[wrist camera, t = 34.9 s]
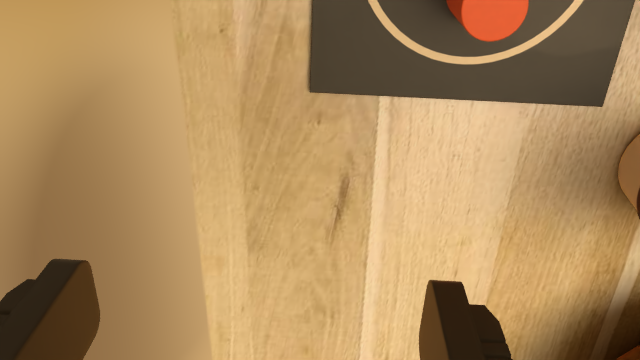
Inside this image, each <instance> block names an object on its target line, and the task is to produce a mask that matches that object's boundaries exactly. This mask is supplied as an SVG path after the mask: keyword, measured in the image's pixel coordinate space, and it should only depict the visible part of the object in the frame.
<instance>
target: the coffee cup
mask: <svg viewBox="0 0 640 360" xmlns="http://www.w3.org/2000/svg"><path fill="white" fill-rule="evenodd" d="M618 178H619V183H620V186H621V189H622V191H623V192H624V194H625V195H626V197H627V198H628V199H629V201H630V202H631V203H632V205H633V206H634V208H635V209H636V210H637V212H638V216H639V219H640V134H639V135H638V136H637V137H636V138H635V139H634V140H633V141H632V142H631V143H630V144H629V145H628V147H627V148H626V150H625V152H624V153H623V155H622V157H621V160H620V163H619V168H618Z"/></svg>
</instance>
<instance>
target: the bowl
mask: <svg viewBox="0 0 640 360" xmlns="http://www.w3.org/2000/svg"><path fill="white" fill-rule="evenodd" d="M616 360H640V345H639V346H637V347H635V348H633V349H632V350H630V351H628V352H627V353H625V354H624V355H622V356H620V357H619V358H617V359H616Z"/></svg>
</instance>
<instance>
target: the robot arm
mask: <svg viewBox="0 0 640 360" xmlns="http://www.w3.org/2000/svg"><path fill="white" fill-rule="evenodd" d="M99 322H100V309H99V304H98V299H97V294H96V289H95V284H94V279H93V274H92V270H91V266H90V264H89V262H88V261H86V260H68V259H53V260H51V261H50V262H49V263H48V265H47V266H46V267H45V268H44V270H43V271H42V272H41V273H40V275H39V276H38V277H37V279H36V280H32V279H27V280H26V281H24V282H23V283H21V284H20V285H18V286H17V287H16V288H14V289H13V290H11V291H10V292H8V293H7V294H6V295H5V297H4V298H3V299H2V300H1V301H0V360H83V358H84V356H85V355H86V353H87V351H88V349H89V347H90V345H91V343H92V342H93V340H94V338H95V336H96V333H97V330H98V327H99ZM419 353H420V360H513V359H511V354H510V351H509V348H508V345H507V344H506V340H505V337H504V334H503V331H502V328H501V326H500V323H499V321H498V320H497V319H496V318H495V317H494V315H493V314H492V313H491V312H490V311H489V310H488V309H487V308H486V306H485V305H471V304H469V303H468V299H467V296H466V292H465V289H464V286H463V284H462V282H456V281H438V280H429V282H428V285H427V289H426V295H425V301H424V307H423V313H422V319H421V325H420V332H419Z"/></svg>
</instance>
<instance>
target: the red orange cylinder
mask: <svg viewBox="0 0 640 360" xmlns="http://www.w3.org/2000/svg"><path fill="white" fill-rule="evenodd" d="M446 1H447V5H448V7H449V9H450V11H451V12H452V14H453V15H454V16H455V17H456V18H457V20H458V21H459V22H460V23H461V24H462V26H463V27H464V28H465V29H466V31H467V32H468V33H469V34H470V35H472V36H473V37H475V38H476V39H479V40H482V41H488V42H490V41H498V40H501V39H504V38H506V37H508V36H510V35H511V34H512V33H514V32H515V31H516V30H517V29H518V28H519V27H520V25H521V24H522V23H523V21H524V19H525V17H526V14H527V11H528V3H529V1H528V0H446Z"/></svg>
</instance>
